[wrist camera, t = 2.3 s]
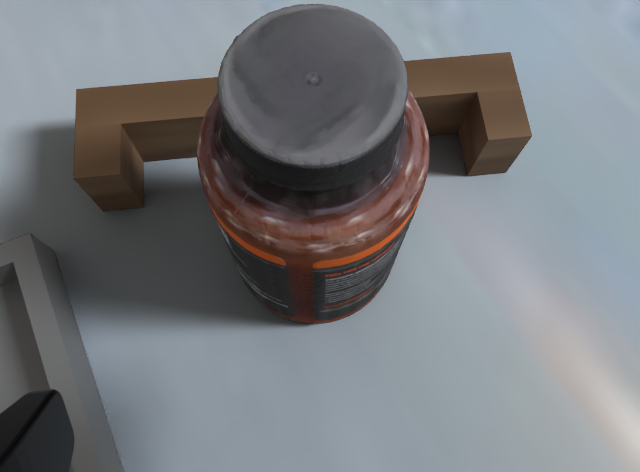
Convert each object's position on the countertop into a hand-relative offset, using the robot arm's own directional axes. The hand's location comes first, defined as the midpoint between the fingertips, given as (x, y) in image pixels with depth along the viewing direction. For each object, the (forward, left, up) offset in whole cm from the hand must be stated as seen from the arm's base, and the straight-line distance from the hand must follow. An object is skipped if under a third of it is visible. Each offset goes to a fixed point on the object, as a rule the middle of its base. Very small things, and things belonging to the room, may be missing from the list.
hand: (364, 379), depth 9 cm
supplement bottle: (+5, -4, -13) cm, 14 cm away
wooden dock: (+8, -7, -12) cm, 16 cm away
